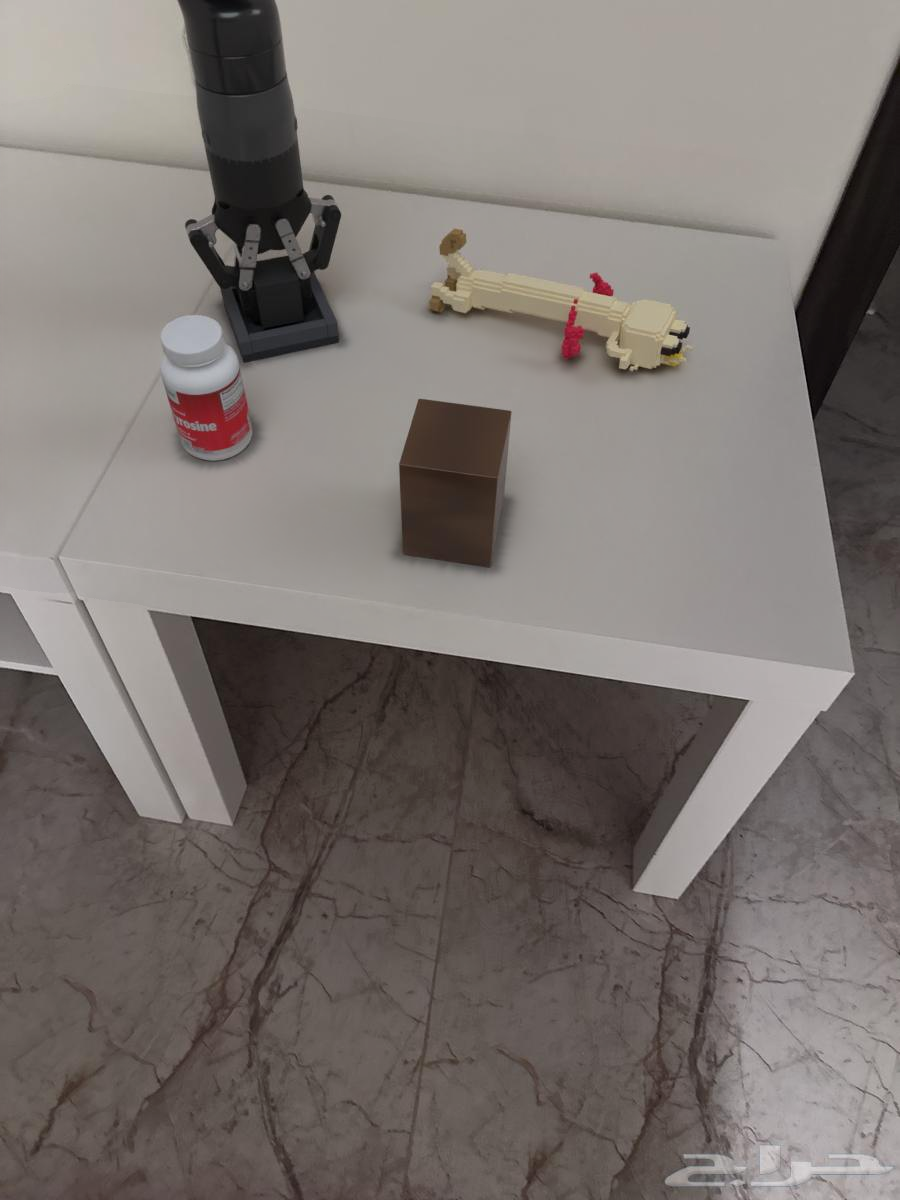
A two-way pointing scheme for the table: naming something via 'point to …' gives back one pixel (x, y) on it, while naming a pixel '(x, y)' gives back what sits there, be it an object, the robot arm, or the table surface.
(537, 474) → the table surface
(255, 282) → the black block
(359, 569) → the table surface
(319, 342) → the dark open tray
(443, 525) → the riser
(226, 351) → the pill bottle
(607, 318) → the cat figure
